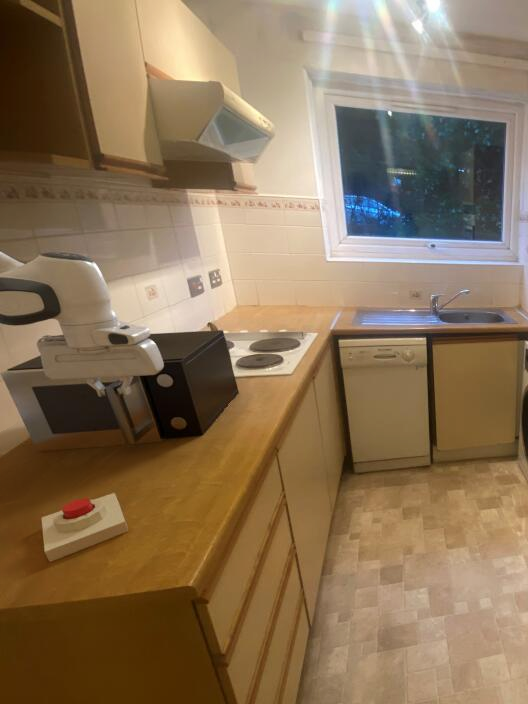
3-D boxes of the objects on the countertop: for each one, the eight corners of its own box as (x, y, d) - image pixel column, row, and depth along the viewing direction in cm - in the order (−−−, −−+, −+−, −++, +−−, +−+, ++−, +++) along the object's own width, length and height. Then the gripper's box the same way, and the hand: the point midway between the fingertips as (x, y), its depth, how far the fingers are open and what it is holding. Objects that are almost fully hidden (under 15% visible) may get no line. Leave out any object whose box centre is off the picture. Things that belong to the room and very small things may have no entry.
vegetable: (236, 377, 145) (221, 319, 138) (237, 381, 142) (222, 321, 134) (220, 379, 143) (205, 320, 136) (221, 384, 140) (204, 323, 132)
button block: (46, 527, 78) (36, 509, 76) (118, 501, 84) (111, 484, 83) (49, 562, 70) (39, 543, 69) (129, 531, 77) (121, 513, 75)
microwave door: (147, 454, 100) (118, 375, 93) (16, 465, 95) (-26, 383, 88) (164, 438, 107) (139, 363, 99) (42, 448, 102) (6, 370, 95)
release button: (64, 513, 76) (60, 504, 75) (92, 503, 78) (88, 495, 78) (66, 522, 73) (62, 514, 73) (94, 512, 76) (91, 504, 75)
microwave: (201, 437, 108) (179, 361, 100) (36, 453, 100) (-3, 373, 93) (239, 393, 133) (223, 330, 126) (109, 403, 126) (83, 337, 118)
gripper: (21, 340, 85) (48, 404, 90) (141, 336, 89) (160, 397, 94) (45, 331, 90) (69, 392, 96) (157, 328, 95) (174, 386, 100)
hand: (115, 394), depth 95 cm, fingers closed
